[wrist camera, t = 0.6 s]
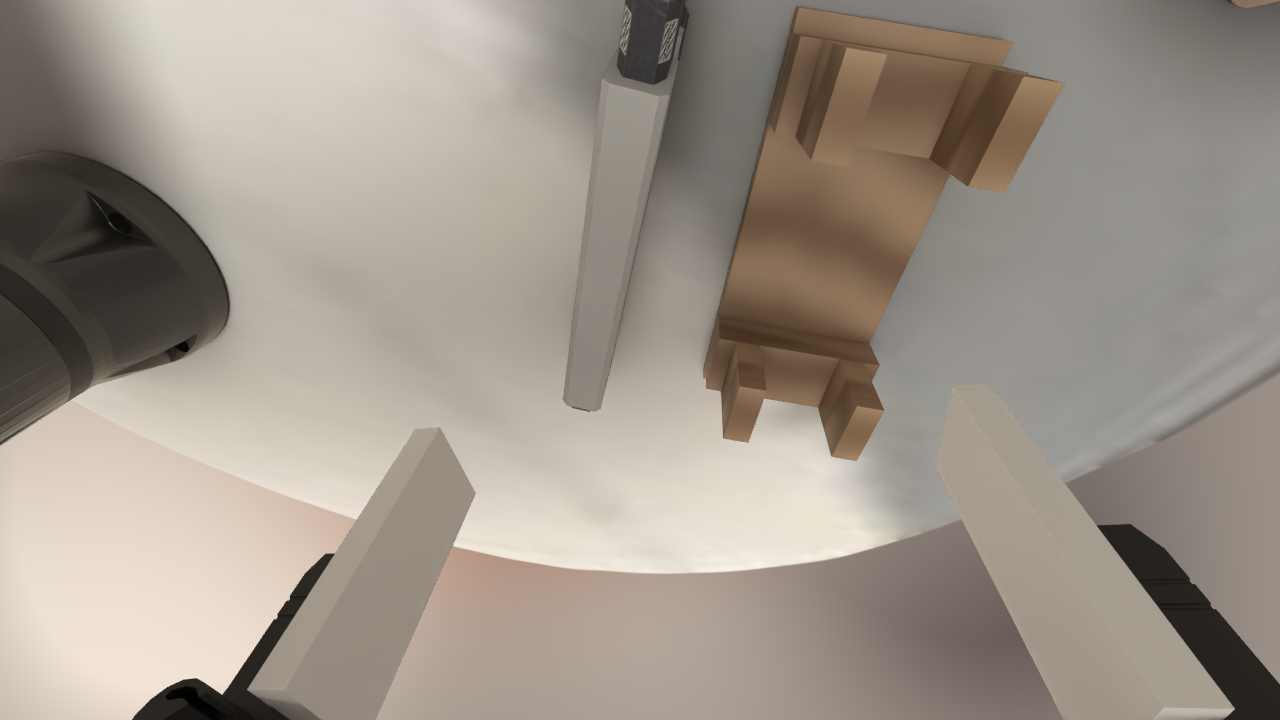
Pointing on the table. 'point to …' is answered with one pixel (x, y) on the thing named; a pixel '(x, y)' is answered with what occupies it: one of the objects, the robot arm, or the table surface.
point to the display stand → (854, 205)
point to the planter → (1252, 3)
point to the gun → (621, 186)
